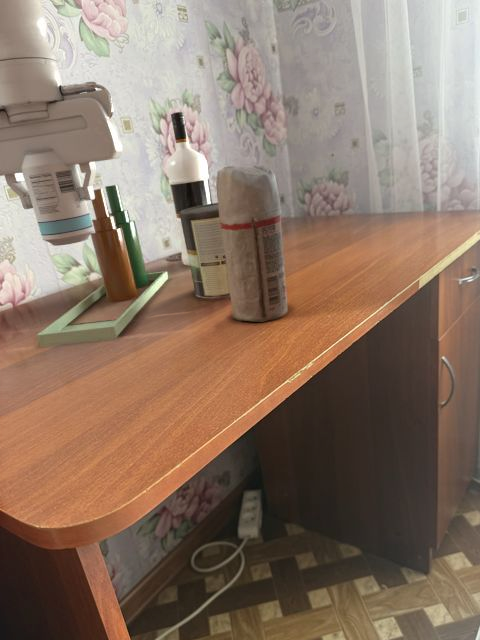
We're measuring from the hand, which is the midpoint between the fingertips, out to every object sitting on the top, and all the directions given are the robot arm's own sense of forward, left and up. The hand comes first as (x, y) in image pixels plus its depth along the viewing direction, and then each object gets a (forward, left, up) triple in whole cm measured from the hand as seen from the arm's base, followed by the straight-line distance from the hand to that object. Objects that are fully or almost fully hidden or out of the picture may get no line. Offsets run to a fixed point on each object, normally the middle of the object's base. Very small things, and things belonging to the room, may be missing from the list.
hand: (59, 204), depth 68 cm
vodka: (+10, +38, -18) cm, 44 cm away
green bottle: (0, +21, -18) cm, 28 cm away
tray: (0, +9, -18) cm, 21 cm away
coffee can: (+18, +12, -18) cm, 29 cm away
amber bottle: (0, +14, -18) cm, 23 cm away
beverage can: (0, 0, -5) cm, 5 cm away
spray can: (+25, -2, -18) cm, 32 cm away
